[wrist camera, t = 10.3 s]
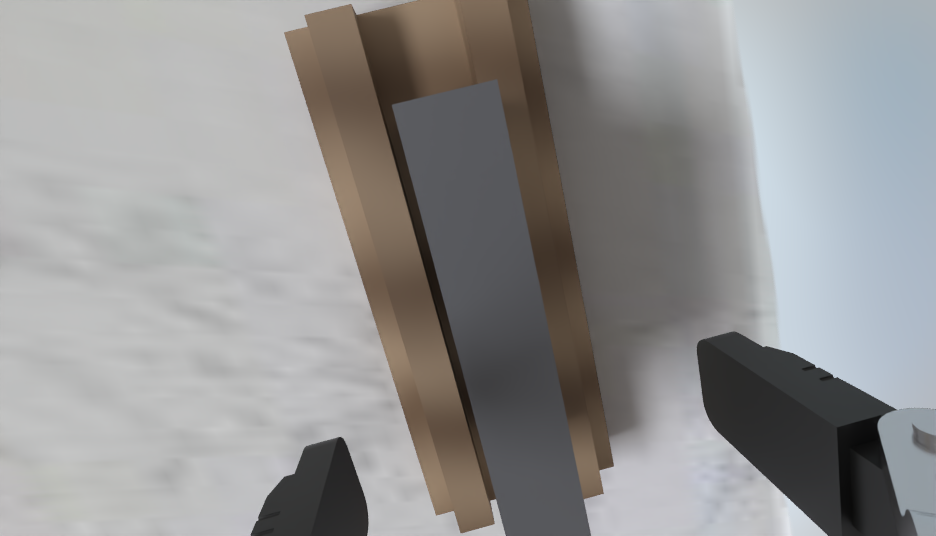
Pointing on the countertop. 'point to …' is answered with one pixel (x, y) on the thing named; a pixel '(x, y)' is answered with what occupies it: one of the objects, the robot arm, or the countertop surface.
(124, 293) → the countertop surface
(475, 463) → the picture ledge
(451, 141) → the grey photo frame
